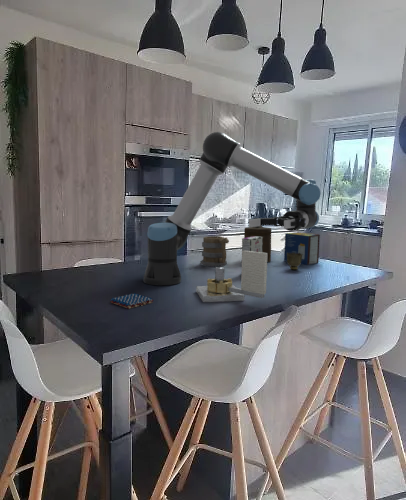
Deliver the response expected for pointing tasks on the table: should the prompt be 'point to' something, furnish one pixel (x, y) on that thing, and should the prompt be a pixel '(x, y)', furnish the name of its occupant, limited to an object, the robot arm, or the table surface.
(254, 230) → the wooden container
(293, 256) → the cup
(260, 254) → the ring nut
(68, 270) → the table surface
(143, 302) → the woven mat
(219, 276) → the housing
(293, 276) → the table surface
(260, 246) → the candy bar box
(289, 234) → the protein box
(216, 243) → the tankard
